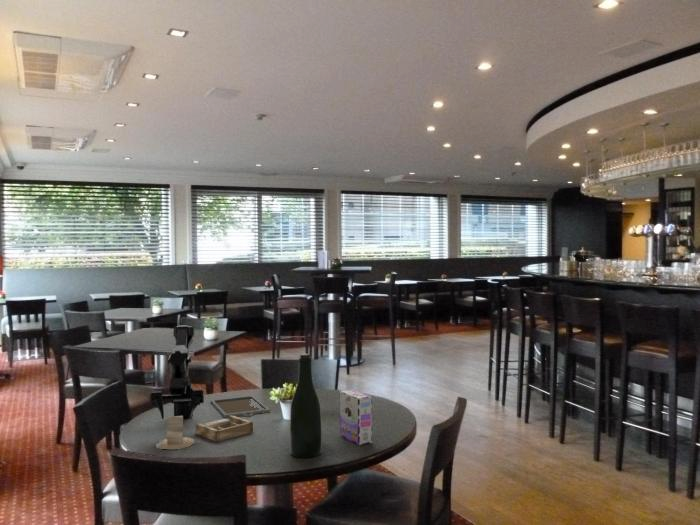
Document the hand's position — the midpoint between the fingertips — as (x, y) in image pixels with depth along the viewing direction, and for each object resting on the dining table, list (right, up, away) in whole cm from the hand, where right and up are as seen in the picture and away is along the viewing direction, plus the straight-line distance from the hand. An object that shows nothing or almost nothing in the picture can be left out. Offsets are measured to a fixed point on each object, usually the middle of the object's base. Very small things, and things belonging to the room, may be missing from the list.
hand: (176, 418), depth 206 cm
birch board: (+1, -7, -5) cm, 9 cm away
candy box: (+64, -7, -1) cm, 65 cm away
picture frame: (+15, -8, +43) cm, 46 cm away
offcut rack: (+16, -7, +8) cm, 19 cm away
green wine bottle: (+48, -8, -15) cm, 50 cm away
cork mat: (+1, -8, -5) cm, 9 cm away
